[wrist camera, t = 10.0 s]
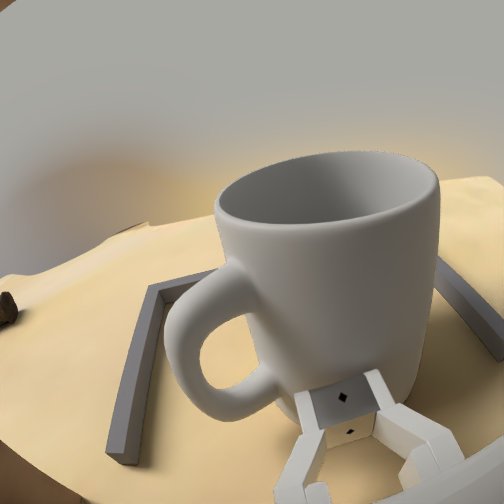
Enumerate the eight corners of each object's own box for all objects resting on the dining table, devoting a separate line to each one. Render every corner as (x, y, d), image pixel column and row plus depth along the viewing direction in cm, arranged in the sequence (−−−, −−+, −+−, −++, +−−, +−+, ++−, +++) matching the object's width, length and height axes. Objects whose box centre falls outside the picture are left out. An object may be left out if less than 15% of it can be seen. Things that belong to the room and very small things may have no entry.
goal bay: (511, 354, 12) (519, 336, 11) (119, 464, 12) (105, 452, 12) (397, 236, 26) (397, 222, 26) (154, 298, 27) (148, 285, 26)
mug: (339, 302, 21) (320, 145, 16) (442, 356, 14) (471, 164, 9) (192, 403, 16) (99, 237, 11) (280, 513, 9) (168, 376, 4)
